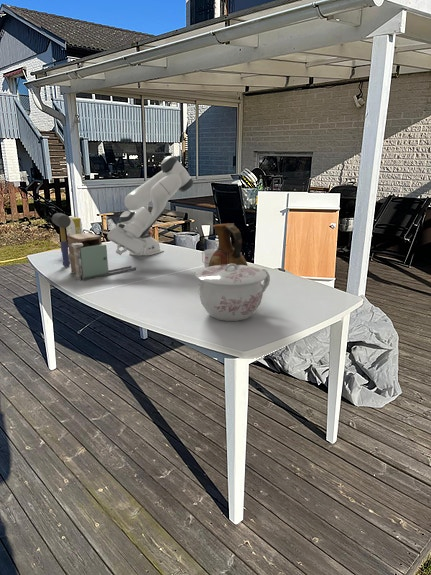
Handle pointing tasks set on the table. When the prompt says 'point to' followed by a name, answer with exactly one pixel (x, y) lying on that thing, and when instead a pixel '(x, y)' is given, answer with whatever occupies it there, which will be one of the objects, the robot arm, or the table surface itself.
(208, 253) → the mug
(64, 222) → the rubber mallet
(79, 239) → the walnut cabinet
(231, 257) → the ceramic pitcher
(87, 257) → the cabinet door
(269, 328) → the table surface
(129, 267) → the door track
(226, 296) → the chamber pot
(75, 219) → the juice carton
